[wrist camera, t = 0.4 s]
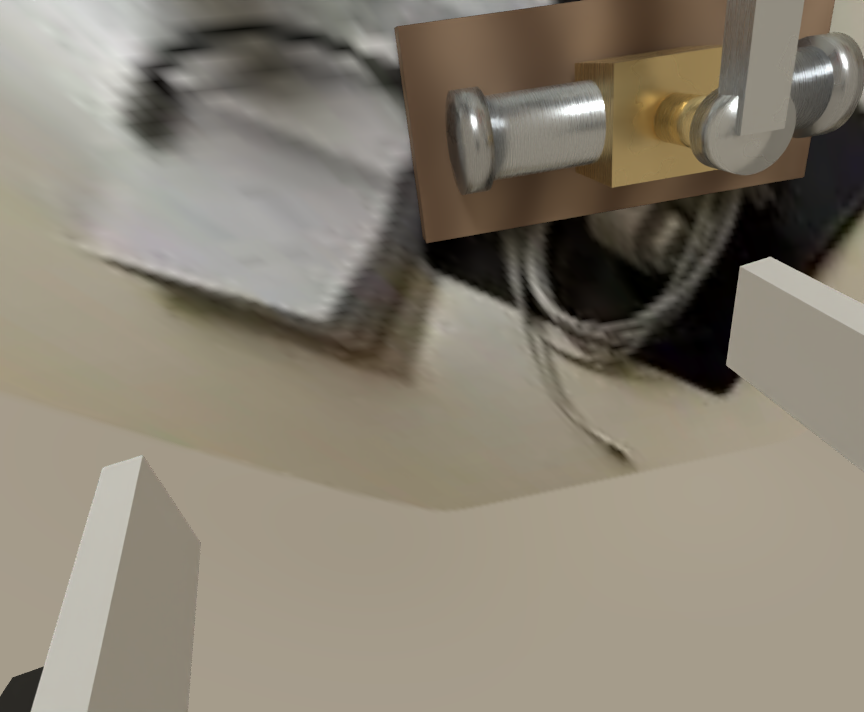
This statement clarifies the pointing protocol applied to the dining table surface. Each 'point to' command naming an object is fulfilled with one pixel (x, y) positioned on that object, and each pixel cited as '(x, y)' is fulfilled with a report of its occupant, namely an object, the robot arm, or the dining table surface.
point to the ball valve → (630, 115)
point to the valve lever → (751, 89)
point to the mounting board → (544, 66)
